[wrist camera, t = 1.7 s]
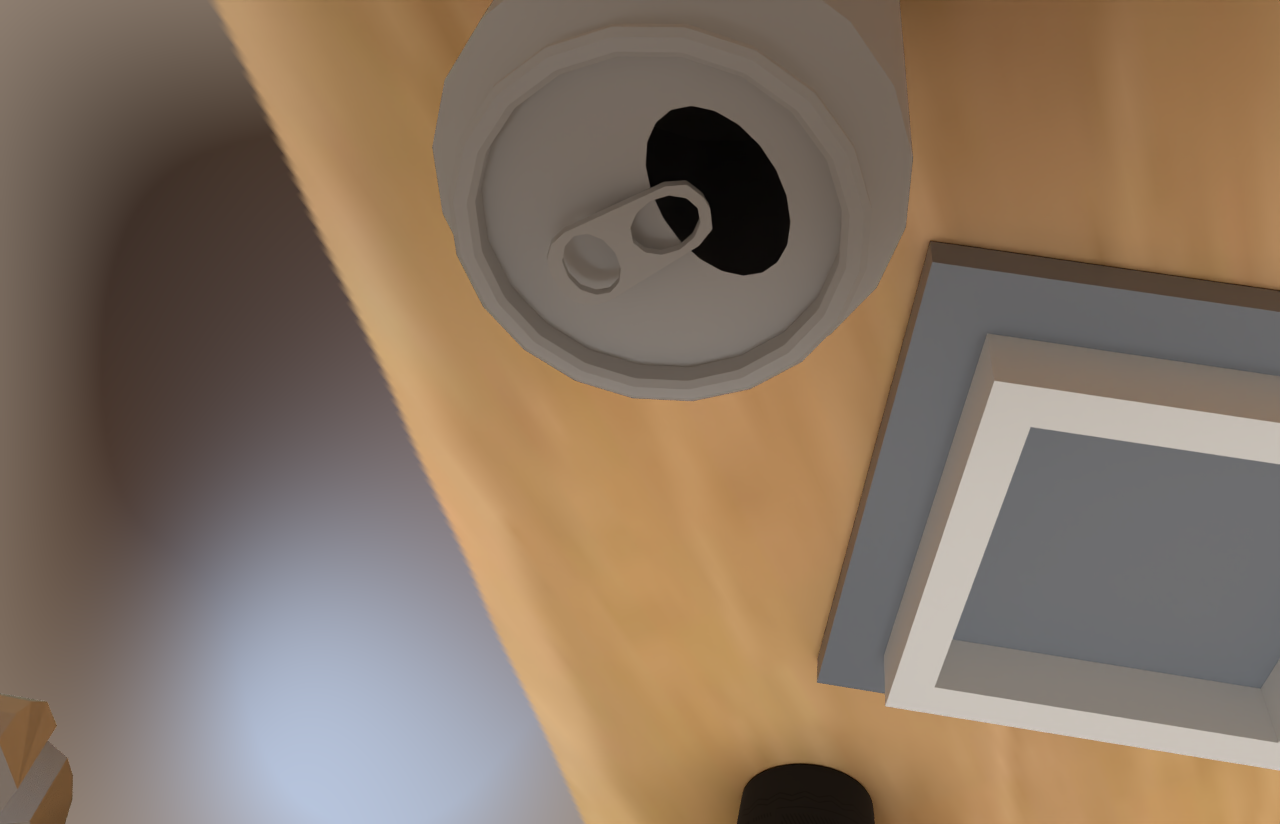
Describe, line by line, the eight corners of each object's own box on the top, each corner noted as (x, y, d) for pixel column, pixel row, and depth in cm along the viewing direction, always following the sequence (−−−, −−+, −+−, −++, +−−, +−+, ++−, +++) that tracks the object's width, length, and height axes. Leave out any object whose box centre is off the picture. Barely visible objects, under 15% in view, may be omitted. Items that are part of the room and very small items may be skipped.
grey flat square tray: (930, 241, 31) (936, 307, 28) (1591, 335, 30) (1653, 411, 27) (817, 658, 41) (815, 733, 38) (1309, 738, 40) (1337, 819, 37)
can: (946, 42, 28) (995, 349, 18) (656, 172, 30) (569, 495, 21) (806, -295, 24) (776, -126, 15) (491, -109, 27) (298, 131, 17)
